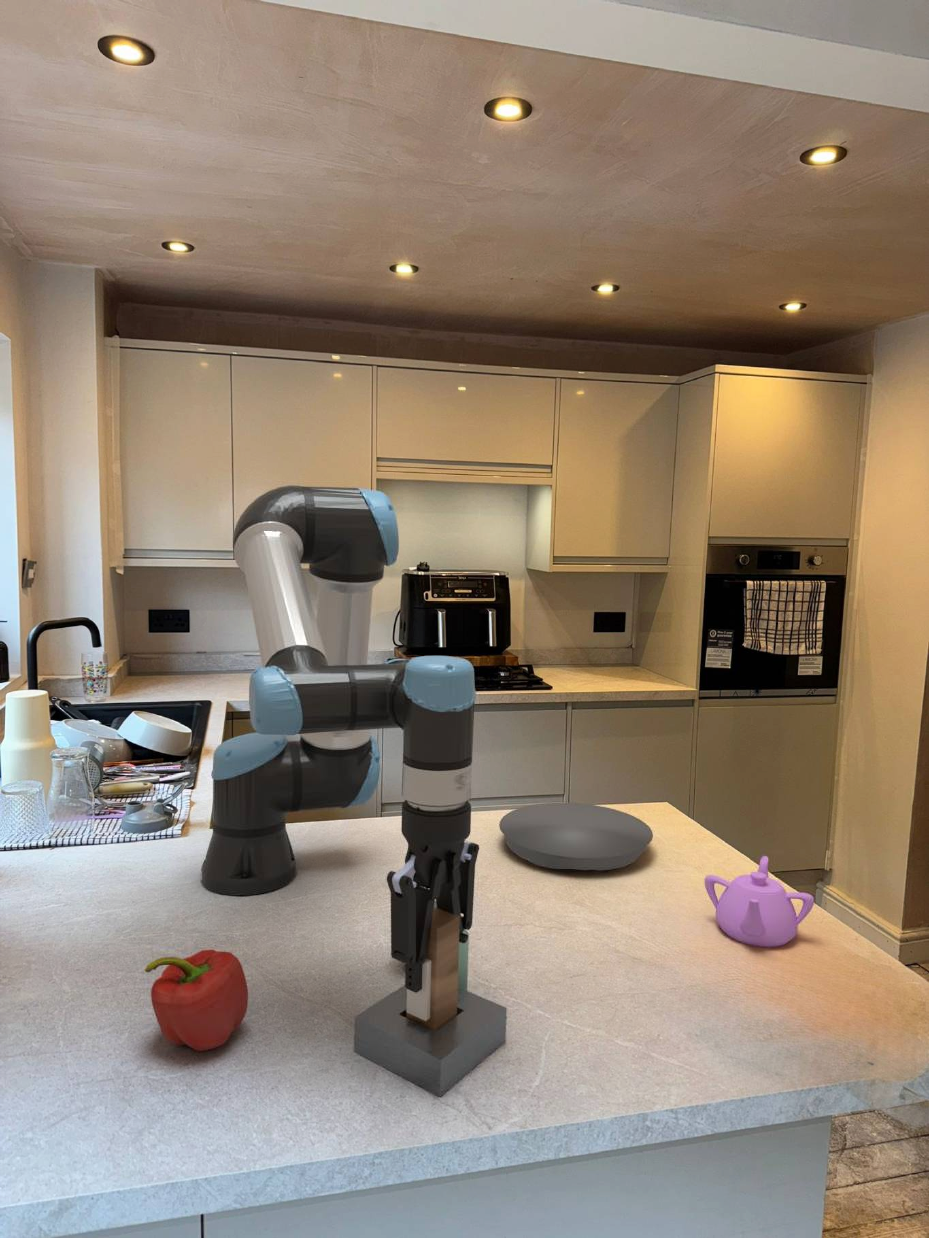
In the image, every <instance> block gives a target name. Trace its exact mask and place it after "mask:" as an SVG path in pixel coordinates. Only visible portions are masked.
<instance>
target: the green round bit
mask: <svg viewBox="0 0 929 1238" xmlns="http://www.w3.org/2000/svg"><path fill="white" fill-rule="evenodd" d="M463 933H464V934H467V935H468V940H467V942H466V943H461V942H459V961H458V987H459V988H461V989H464V990H466V991H468V982H469V981H468V978H469V977H468V976H469V975H468V973H469V944H470V943H469V942H470V941H469V940H470V936H469V932H468V930H466V929H465V930H464V931H463Z"/></svg>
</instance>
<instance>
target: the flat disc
mask: <svg viewBox="0 0 929 1238" xmlns="http://www.w3.org/2000/svg"><path fill="white" fill-rule="evenodd" d="M499 830H500V831H501V833H502V834H503V837H504V840H505V842H506V844H507V846H508V847H509V849H510V850H511V851H512V853H514V854H515V855H517V856H518V857H519V858H521V859H523V860H528V862H530V863H532V864H534V865H536V866H539V867H544V868H547V869H554V870H565V869H567V870H570V869H572V870H580V871H589V870H592V871H598V872H599V871H609V870H614V869H621V868H624V867H627V866H628V865H629V864H633V863H634V862H635V861H637V859H639V858H640V856H641V854H642V853H645V852H646V849H647V848H648V845H650V844H651V842H652V840H653V837H654V833H653V830H652V829H651V827H650V826H649V825H648V824H647V823H646V822H644V821H643V820H641V819H640V818H638V817H636V816H634V815H632V814H630V813H627V812H625V811H622V810H619V809H614V808H611V807H606V806H601V805H594V804H590V803H589V804H587V803H578V802H546V803H537V804H530V805H527V806H523V807H519V808H516V809H513V810H512V811H510V812H507V813H506V814H504V816H502V818H501V819H500V821H499Z"/></svg>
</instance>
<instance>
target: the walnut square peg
mask: <svg viewBox="0 0 929 1238" xmlns="http://www.w3.org/2000/svg"><path fill="white" fill-rule="evenodd" d="M459 925H460V916H457V915H454V914H452V913H449V912H446V911H443V910H441V909H438V908H435V907H434V909H433V916H432V923H431V930H430V936H429V943H428V950H427V957H426V959H429V960H431V996H430V1018H429V1019H428V1020H427V1021H424V1020H422V1019H420V1018H418V1017H416V1016H414V1015H412V1014H410V1013H407V1009H406V1018H407V1019H409V1020H412V1021H414V1022H416V1023H418V1024H420V1025H422V1026H424V1027H426V1028H428V1029H430V1030H433V1031H435V1032H436V1031H437V1030H439V1029H440V1028H441V1027H443V1026H444V1025H445V1024H447V1023H448V1022H449V1021H451V1020H452V1019H453V1018H455V1017H456V1016H457V996H458V961H459Z"/></svg>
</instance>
